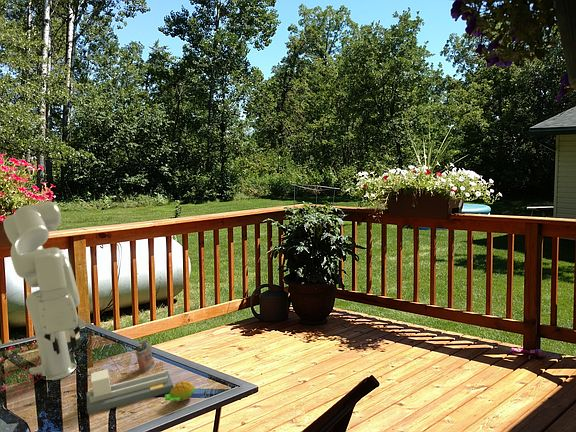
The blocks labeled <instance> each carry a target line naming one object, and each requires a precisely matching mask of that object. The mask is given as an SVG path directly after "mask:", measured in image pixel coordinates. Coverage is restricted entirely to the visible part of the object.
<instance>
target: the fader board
mask: <svg viewBox="0 0 576 432" xmlns="http://www.w3.org/2000/svg"><path fill="white" fill-rule="evenodd" d="M110 386H111V393H108V394H104V395H100V396H97V397H94V393H93V389H92V390H88V391H87V392H86V410H87V411H86V412H87V415H92V414H95V413H98V412H102V411H106V410H111V409H114V408H117V407H122V406H124V405H128V404H131V403H135V402H138V401H143V400H145V399H150V398H153V397H156V396H159V395H161V396H162V395H164V394H167V393H168V394H169V393H170V392H171V390H172V388H173V387H174V384H173V380H172V378H171V376H170V373H169V370H163V371H159V372H156V373H151V374H148V375H145V376H141V377H137V378H134V379H129V380H126V381H121V382H118V383H115V384H110Z"/></svg>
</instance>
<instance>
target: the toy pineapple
mask: <svg viewBox="0 0 576 432" xmlns="http://www.w3.org/2000/svg"><path fill="white" fill-rule="evenodd" d="M195 390H196V388H195V385H193V383H191V382H190V381H186V380H183V381H179V382H176V383H175V385H173V388H172V390H171V392H169V393H168V394H167V393H166V394H165V395H164V400H165V401H170V403H173V402H179V401H180V402H183V401H186V400H188V399H190V397H192V396H193V394H194V392H195Z"/></svg>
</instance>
